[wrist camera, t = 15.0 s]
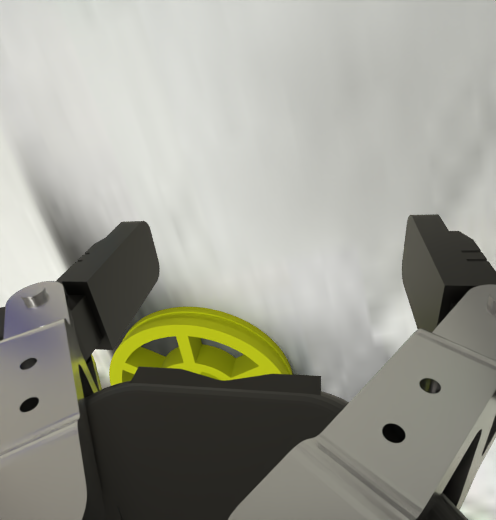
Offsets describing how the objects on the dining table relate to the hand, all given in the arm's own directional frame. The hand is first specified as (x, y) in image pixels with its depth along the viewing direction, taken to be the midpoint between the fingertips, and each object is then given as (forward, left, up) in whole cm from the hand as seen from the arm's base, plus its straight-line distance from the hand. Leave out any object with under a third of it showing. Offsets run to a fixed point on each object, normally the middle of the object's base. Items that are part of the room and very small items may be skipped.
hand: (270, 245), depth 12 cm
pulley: (+16, +40, -31) cm, 53 cm away
